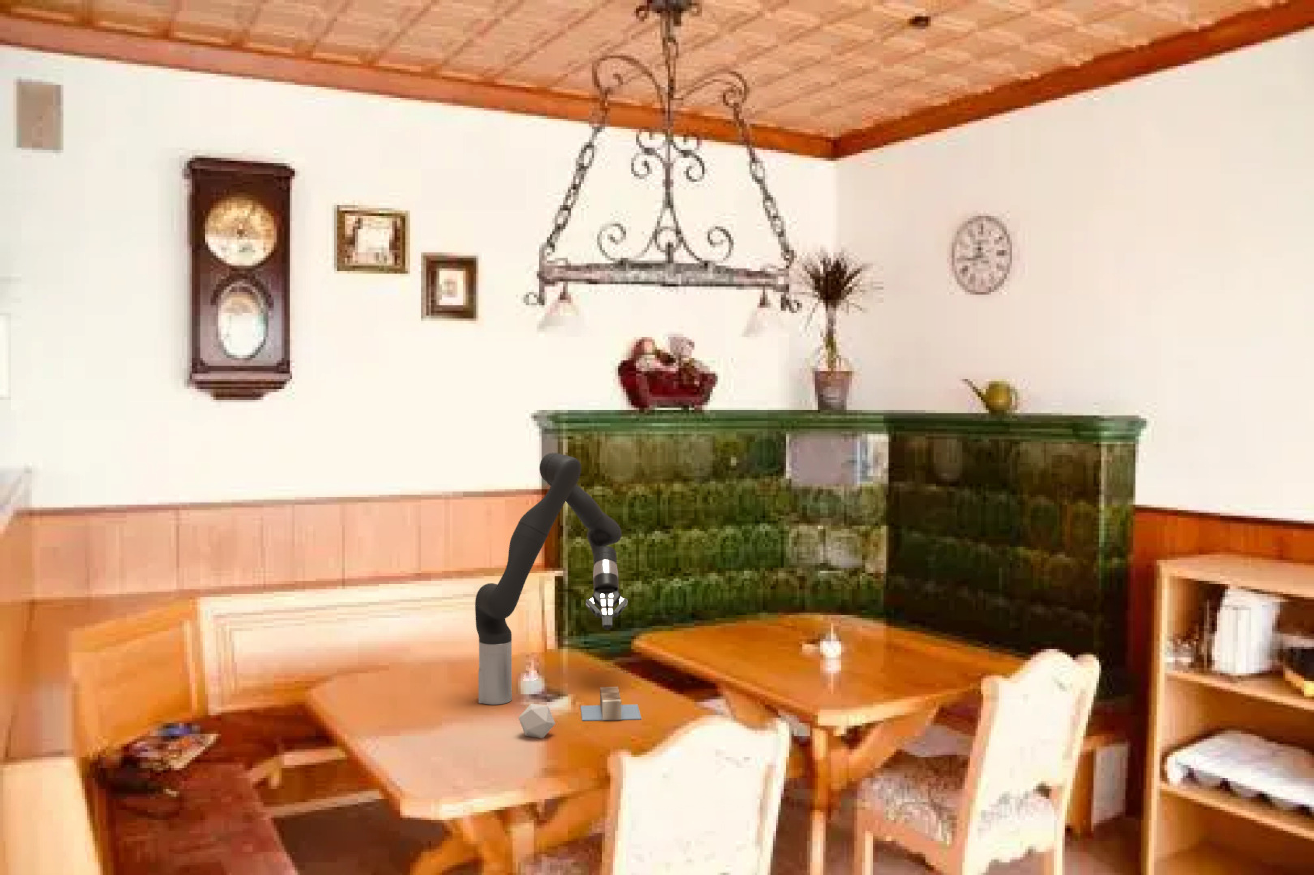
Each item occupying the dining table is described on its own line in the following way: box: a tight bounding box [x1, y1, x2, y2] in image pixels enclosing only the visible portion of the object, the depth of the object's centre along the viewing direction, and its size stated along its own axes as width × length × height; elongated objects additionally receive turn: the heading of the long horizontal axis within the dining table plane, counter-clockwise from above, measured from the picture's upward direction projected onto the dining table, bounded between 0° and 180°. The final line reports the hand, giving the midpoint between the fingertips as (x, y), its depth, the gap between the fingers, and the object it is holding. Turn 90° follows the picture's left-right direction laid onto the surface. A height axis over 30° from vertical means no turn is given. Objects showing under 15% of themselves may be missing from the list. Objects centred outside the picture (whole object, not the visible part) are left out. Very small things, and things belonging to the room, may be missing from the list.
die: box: [518, 703, 556, 739], centre depth 294 cm, size 8×9×10 cm
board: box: [580, 703, 642, 722], centre depth 313 cm, size 16×13×1 cm
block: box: [599, 686, 622, 721], centre depth 313 cm, size 5×5×14 cm
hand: (607, 628), depth 331 cm, fingers closed
